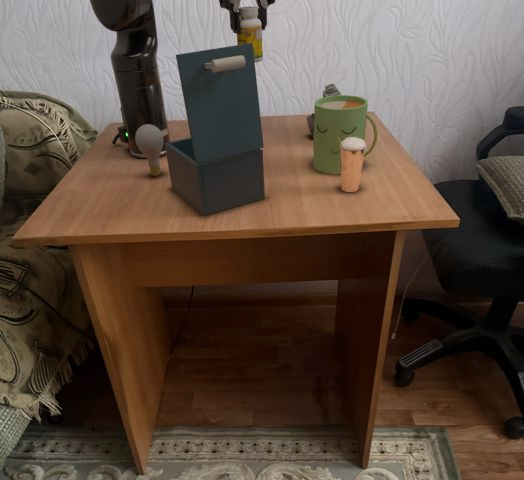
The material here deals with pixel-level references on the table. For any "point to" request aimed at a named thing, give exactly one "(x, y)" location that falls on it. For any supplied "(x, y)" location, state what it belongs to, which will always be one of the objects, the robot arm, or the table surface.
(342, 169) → the milkshake
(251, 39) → the supplement bottle
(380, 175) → the table surface
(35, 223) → the table surface
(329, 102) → the mug
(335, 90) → the camera
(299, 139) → the table surface
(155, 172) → the light bulb
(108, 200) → the table surface
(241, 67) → the lid
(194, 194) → the compartment
